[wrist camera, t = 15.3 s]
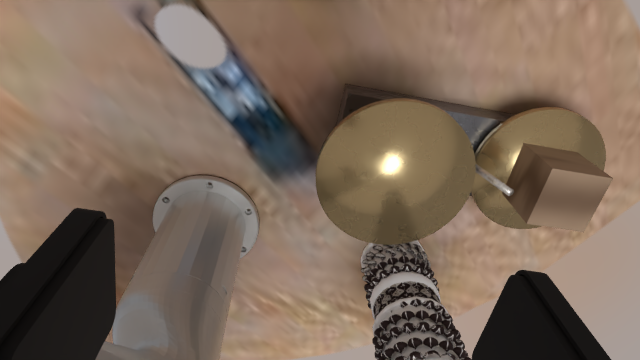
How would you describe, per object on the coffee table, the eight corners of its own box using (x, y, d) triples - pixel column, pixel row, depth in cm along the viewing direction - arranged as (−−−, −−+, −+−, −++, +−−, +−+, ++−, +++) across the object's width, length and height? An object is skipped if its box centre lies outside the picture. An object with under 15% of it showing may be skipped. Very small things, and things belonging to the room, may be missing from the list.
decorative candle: (416, 219, 55) (491, 400, 33) (435, 274, 59) (514, 467, 37) (347, 243, 57) (375, 432, 34) (370, 294, 61) (408, 493, 38)
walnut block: (553, 201, 49) (583, 232, 43) (502, 193, 48) (526, 223, 43) (577, 152, 46) (613, 178, 41) (523, 142, 45) (552, 168, 40)
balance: (548, 213, 55) (606, 276, 45) (303, 175, 52) (303, 233, 41) (601, 107, 49) (683, 150, 39) (326, 56, 46) (333, 87, 35)
